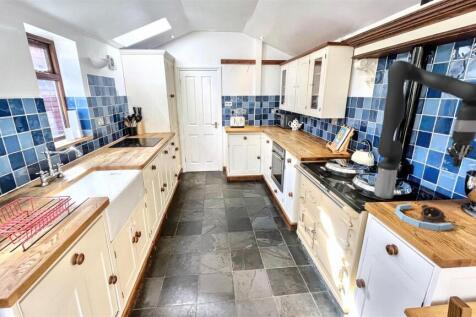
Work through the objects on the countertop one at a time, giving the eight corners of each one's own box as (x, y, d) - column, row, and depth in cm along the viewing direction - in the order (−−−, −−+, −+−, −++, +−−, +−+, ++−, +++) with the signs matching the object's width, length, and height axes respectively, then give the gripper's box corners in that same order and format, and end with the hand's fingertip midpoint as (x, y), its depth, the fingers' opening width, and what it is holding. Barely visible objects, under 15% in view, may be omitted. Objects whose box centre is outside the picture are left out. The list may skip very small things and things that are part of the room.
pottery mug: (452, 227, 101) (450, 215, 97) (429, 234, 103) (427, 222, 100) (432, 209, 111) (429, 197, 108) (411, 216, 114) (409, 204, 110)
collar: (407, 208, 119) (408, 203, 118) (451, 229, 98) (452, 223, 98) (384, 211, 116) (385, 206, 115) (424, 233, 96) (425, 227, 95)
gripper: (466, 128, 107) (459, 163, 111) (443, 129, 105) (436, 165, 109) (486, 130, 100) (477, 167, 104) (461, 131, 98) (453, 169, 102)
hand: (456, 166), depth 107 cm, fingers closed
